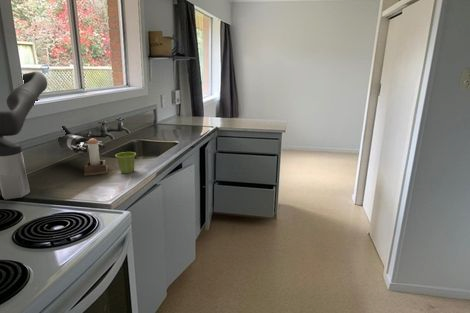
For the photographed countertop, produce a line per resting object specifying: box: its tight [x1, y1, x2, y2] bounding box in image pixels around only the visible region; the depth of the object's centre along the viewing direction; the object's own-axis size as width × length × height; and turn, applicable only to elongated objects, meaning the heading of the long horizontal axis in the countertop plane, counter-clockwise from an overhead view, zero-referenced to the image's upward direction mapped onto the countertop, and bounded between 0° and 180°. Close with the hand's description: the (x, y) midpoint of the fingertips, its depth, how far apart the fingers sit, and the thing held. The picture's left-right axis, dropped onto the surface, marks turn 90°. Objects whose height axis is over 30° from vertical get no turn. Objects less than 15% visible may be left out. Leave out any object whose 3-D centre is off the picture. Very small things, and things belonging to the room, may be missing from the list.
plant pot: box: [115, 151, 137, 174], centre depth 152 cm, size 9×9×9 cm
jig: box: [84, 159, 108, 176], centre depth 153 cm, size 10×10×4 cm
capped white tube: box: [88, 137, 101, 166], centre depth 152 cm, size 4×4×15 cm
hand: (95, 148), depth 150 cm, fingers open, 8 cm apart
